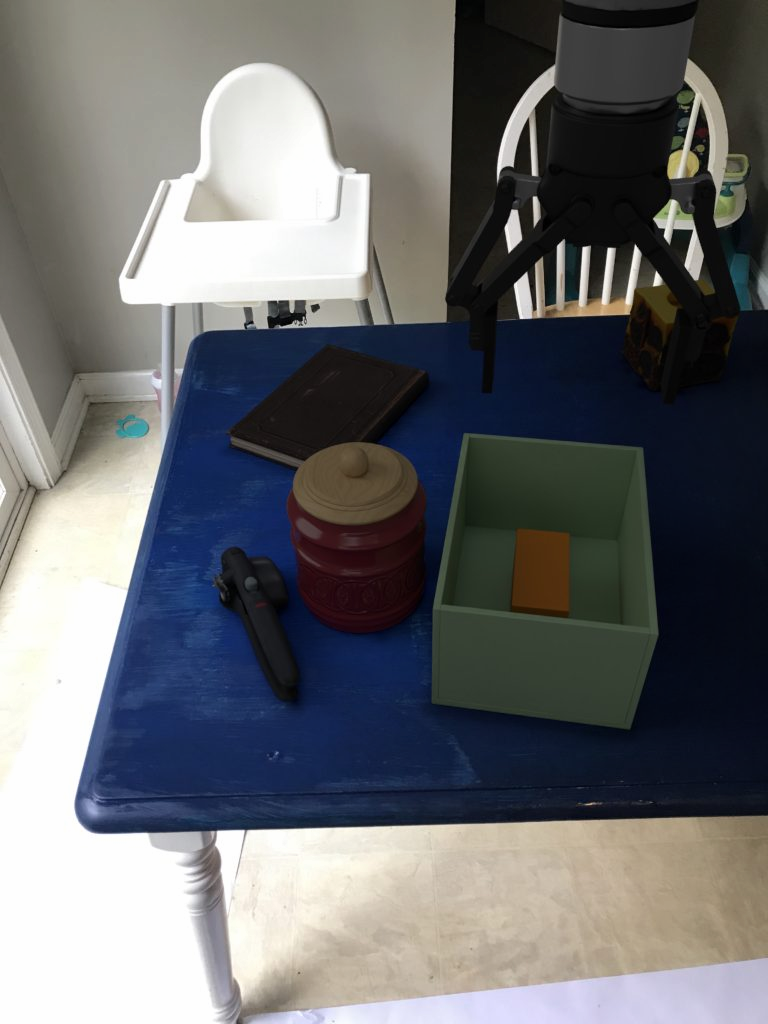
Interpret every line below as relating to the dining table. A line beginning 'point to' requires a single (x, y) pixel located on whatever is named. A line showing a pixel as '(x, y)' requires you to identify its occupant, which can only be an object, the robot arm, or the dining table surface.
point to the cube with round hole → (653, 337)
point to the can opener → (260, 615)
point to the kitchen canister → (358, 536)
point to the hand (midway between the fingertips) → (576, 389)
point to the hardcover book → (328, 406)
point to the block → (541, 573)
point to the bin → (592, 583)
